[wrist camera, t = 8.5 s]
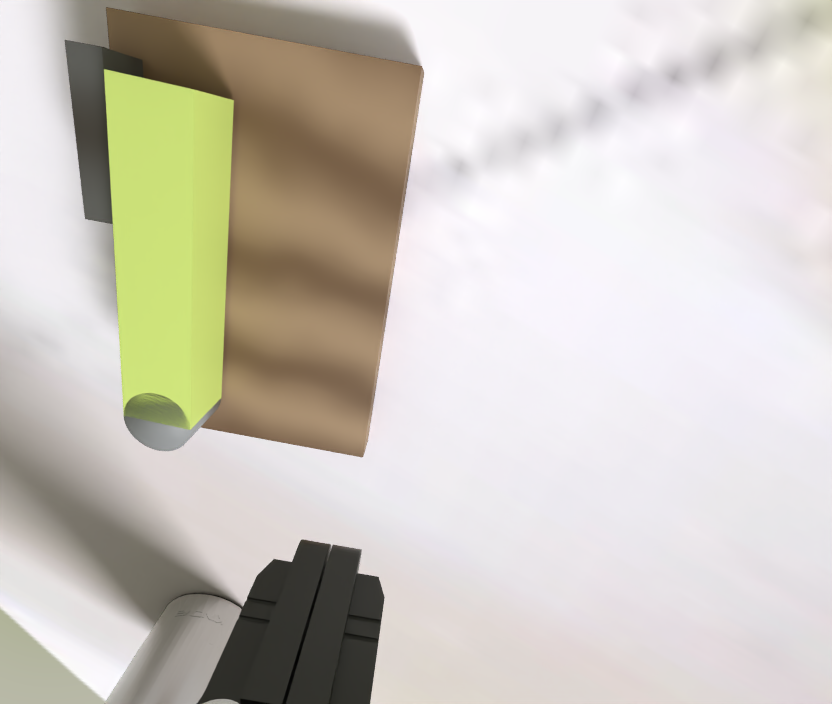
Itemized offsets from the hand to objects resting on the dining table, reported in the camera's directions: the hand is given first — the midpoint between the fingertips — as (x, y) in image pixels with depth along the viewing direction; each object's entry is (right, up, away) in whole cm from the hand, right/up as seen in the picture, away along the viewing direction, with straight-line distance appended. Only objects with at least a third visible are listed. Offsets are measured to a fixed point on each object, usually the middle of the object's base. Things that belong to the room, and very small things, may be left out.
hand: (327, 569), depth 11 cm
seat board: (-7, +11, +18) cm, 22 cm away
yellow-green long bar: (-11, +10, +16) cm, 22 cm away
